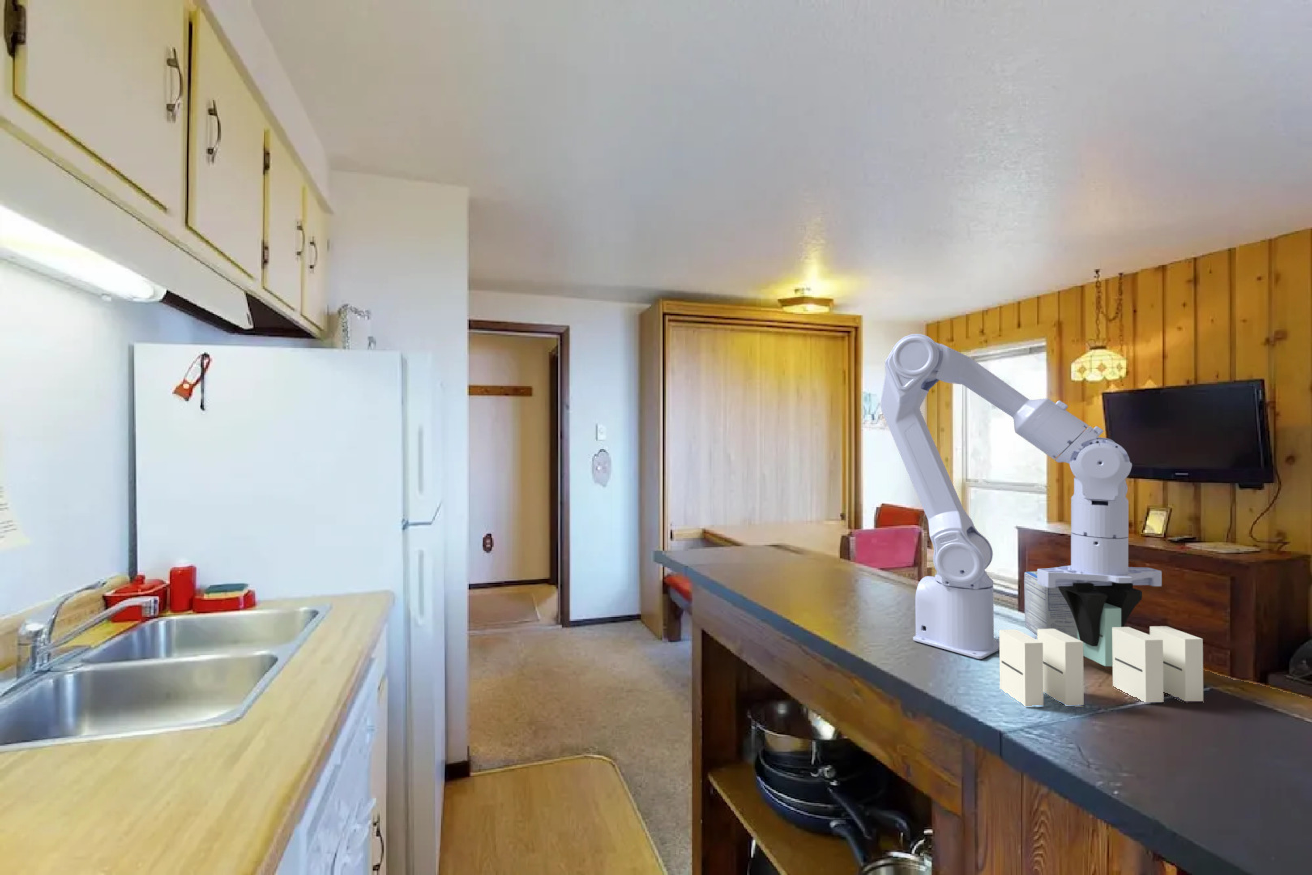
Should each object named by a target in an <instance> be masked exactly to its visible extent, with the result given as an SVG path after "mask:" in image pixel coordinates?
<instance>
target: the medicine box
mask: <svg viewBox="0 0 1312 875" xmlns="http://www.w3.org/2000/svg"><path fill="white" fill-rule="evenodd" d="M1023 575H1024V577H1023V578H1024V579H1023V584H1024V585H1023V586H1024V589H1023V590H1024V593H1023V594H1024V625H1025V627H1026V628H1027V629H1029V630H1030V631H1031V632H1032V633H1034V634H1035V635H1037V629H1056V630H1058V631H1060V632H1063V633H1065V634H1067V635H1069V636H1071V637H1074V638H1076V639H1077V626H1076V623H1075V620H1074V617H1073V614H1072V612H1071V610H1070V608H1069V606H1068V604H1067V602H1066V600H1065V598H1064V597H1063V595H1062V593H1061V592H1060V590H1059V588H1058V586H1056V587H1055V588H1048V587H1045V586H1042V585H1039V584H1037V571H1025V572H1024V574H1023Z"/></svg>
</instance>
